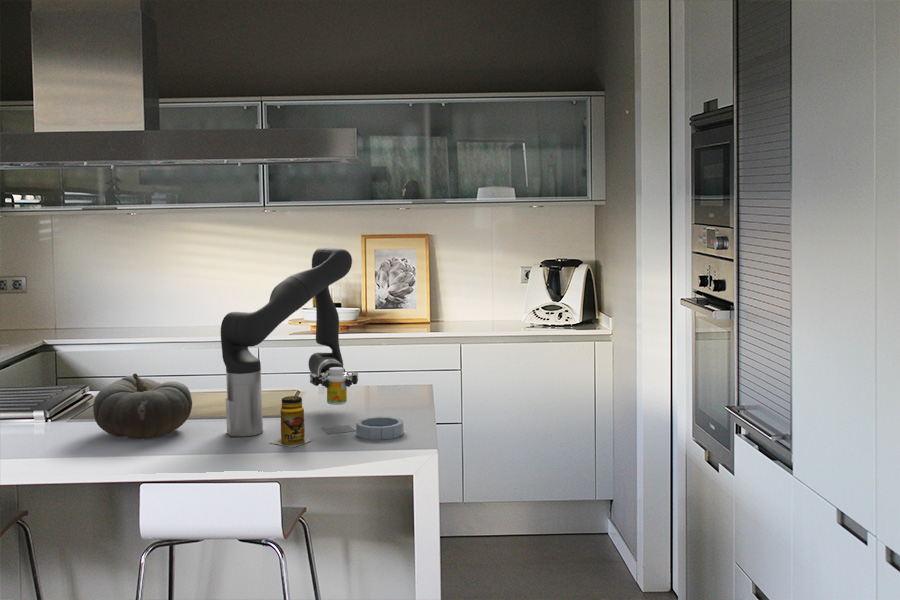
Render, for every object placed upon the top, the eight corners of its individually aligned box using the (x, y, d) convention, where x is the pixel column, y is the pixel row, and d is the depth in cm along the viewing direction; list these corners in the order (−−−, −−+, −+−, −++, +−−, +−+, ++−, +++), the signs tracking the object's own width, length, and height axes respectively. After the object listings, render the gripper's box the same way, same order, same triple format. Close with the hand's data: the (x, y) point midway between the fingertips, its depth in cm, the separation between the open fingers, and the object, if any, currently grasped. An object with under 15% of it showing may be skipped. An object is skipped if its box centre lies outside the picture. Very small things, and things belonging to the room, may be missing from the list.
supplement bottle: (323, 403, 236) (322, 368, 235) (334, 400, 240) (334, 366, 239) (339, 405, 233) (338, 370, 232) (350, 402, 238) (350, 367, 237)
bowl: (365, 441, 225) (365, 429, 225) (351, 430, 236) (351, 419, 236) (409, 436, 230) (409, 424, 230) (393, 426, 241) (393, 414, 241)
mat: (328, 435, 233) (328, 433, 233) (321, 429, 239) (321, 428, 239) (356, 432, 236) (356, 430, 236) (348, 426, 243) (348, 425, 243)
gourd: (115, 412, 250) (120, 355, 246) (200, 426, 250) (206, 369, 246) (77, 444, 225) (81, 381, 222) (171, 459, 225) (177, 396, 222)
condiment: (294, 447, 220) (293, 401, 219) (269, 443, 224) (267, 398, 223) (312, 440, 227) (311, 396, 225) (287, 437, 231) (285, 393, 229)
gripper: (306, 361, 248) (311, 370, 232) (355, 359, 251) (364, 368, 235) (306, 386, 249) (311, 398, 232) (356, 384, 252) (364, 395, 236)
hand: (337, 383), depth 234 cm, fingers closed on supplement bottle, 5 cm apart
